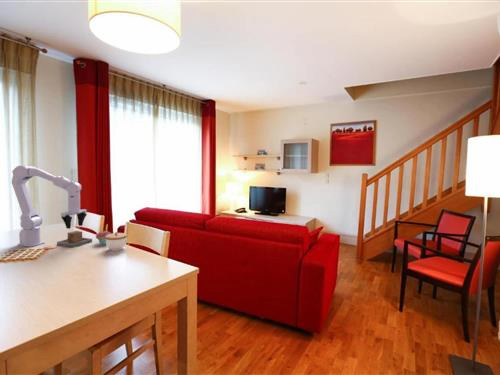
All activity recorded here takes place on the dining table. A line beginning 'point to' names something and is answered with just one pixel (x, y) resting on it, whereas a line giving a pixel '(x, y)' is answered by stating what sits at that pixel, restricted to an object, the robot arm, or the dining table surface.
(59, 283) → the dining table surface
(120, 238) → the lidded jar
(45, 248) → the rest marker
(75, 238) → the walnut block
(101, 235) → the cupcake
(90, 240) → the slate tray
